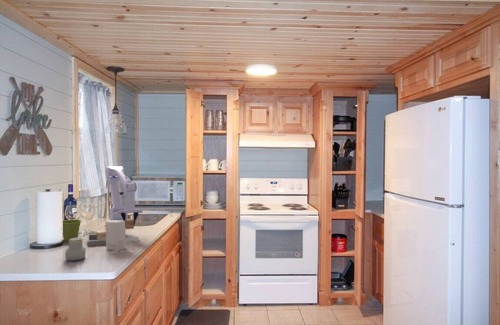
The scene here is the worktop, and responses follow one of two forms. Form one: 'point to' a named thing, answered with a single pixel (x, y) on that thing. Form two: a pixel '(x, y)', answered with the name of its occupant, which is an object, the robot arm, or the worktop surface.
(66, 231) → the plant pot
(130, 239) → the coaster
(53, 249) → the worktop surface
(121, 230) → the skincare box
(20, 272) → the worktop surface
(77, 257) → the air freshener
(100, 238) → the box plain
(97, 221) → the worktop surface
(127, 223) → the box stamped
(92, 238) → the parts bin
